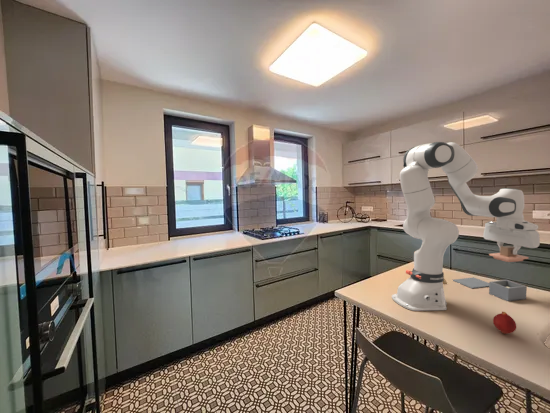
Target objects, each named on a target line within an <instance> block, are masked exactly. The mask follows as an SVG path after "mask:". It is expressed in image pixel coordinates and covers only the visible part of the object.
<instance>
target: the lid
mask: <svg viewBox="0 0 550 413" xmlns="http://www.w3.org/2000/svg"><path fill="white" fill-rule="evenodd" d="M513 246H514V245H503V246H500V248H499V252H495V253H494V252H493V253H488V256H490V257H493V259H495V260H498V261H502V262H506V263H512V262H514V263H515V262H523V261H524V260H529V256H525V255H521V254H517V255H514V254H511V250H513V249H514V248H515V247H513Z"/></svg>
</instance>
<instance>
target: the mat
mask: <svg viewBox="0 0 550 413" xmlns="http://www.w3.org/2000/svg"><path fill="white" fill-rule="evenodd" d="M452 280H453V281H452V282H455V283H457V284H459V283H460V285H461V286H465V287H467V288H470V289H472V290H473V289H481V288H489V282H488V281H485V280H482V279H479V278H477V277H466V278H465V277H464V278H455V279H452Z"/></svg>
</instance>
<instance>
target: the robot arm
mask: <svg viewBox="0 0 550 413" xmlns="http://www.w3.org/2000/svg"><path fill="white" fill-rule="evenodd" d="M402 160H403V168H402V169H401V170H400V172H399V181H400V182H399V183H400V187H401V191H402V195H403V199H404V202H405V205H406V212H407V213H406V218H405V219H404V221H403V224H402V229H403V231H404V232H405V233H406V234H407V235H409V236H410V237H412V238H414V239H418V240H421V246H420V248H418V249H417V250H415V253H414V252H413V268H412V270H410V269H405V274H406V275H409V277H408V278H407V279H406V280H404V281H403V282H401V284H399V285H398V287H397V293H393V294H391V299H392V301H394V302H395V303H396V304H398V305H399V306H401V307H403V308H405V309H408V310H409V311H413V312H414V311H447V308H448V307H447V300H446V297H445V290H444V284H443V281H444V279H445V275H444V271H443V265H444V255H445V253H446V250H447V248H448V247H449V246H450V245H452V244H454V243H455V242H456V241H457V240H458V238H459V235H460V234H459V232H460V230H459V227H458V226H457V225H456V224H455V223H454V222H452V221H450V220H447V219H444V218H439V217H438V218H437V217H432V215H431V209H432V208H433V207H434V206H435V204H436V200H435V197H434V193H433V190H432V186H431V182H430V179H429V176H428V174H429V170H431V169H438V168H439V169H440V168H441V170H442V171H443V172H444V173H445V175H446V176H447V182H448V185H449V187H450V188H451V189H452V191H453V193H454V194H455V196H456V197H457V199H458V201H459V204H460V206H461V209H462V211H463V213H465V214H466V215H467V216H470V217H486V218H495V219H496V221H491V220H489V221H487V222H486V223H485V224H484V230H483V234H482V236H483V239H484V240H487V241H493V242H496V245H497V246H498V248H499V249H500V246H504V244H508V245H511V246H513V247H515V248H514V249H513V250H511V254H514V255H518V251H520V249H521V248H522V247H524V248H529V249H535V248H538V247H540V244H541V242H540V241H541V240H540V239H541V237H540V233H539V231H538V229H539V225H538V224H535V223H533V222H530V221H528V220H525V216H524V210H525V194H524V192H523V190H521V189H518V188H511V187H505V188H500V189H499V191H498V192H496V193H495V194H492V195H478V194H475V193H473V192H472V190H471V189H470V187H469V185H468V182H469V181H471V180H472V179H473V178H474V177H475V176H476V175H477V174H478V170H479V166H478V164H477V162H476V160H475V159H474V158H473V157H472V156H471V155H470V154H469V153H468V151H467V150H466V149H464V147H462V146H461V145H460V144H458V143H457V142H454V141H451V142H444V141H435V142H431V143H424V144H419V145H416V146H413V147H411V148H409V149H408V150H406V152H405V153H404V155H403V158H402Z"/></svg>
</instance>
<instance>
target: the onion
mask: <svg viewBox="0 0 550 413" xmlns="http://www.w3.org/2000/svg"><path fill="white" fill-rule="evenodd" d="M492 322H493V325H494V327H495V328H496V329H497V330H498V331H499V332H500V333H502V334H504V335H508V334H509V335H510V334H512V333H514V332H515V331H516V329H517V323H516V320H514V318H512V316H511V315H509V314H508V313H507V312H506V311H501V313H497V314H495V316H493V318H492Z"/></svg>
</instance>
